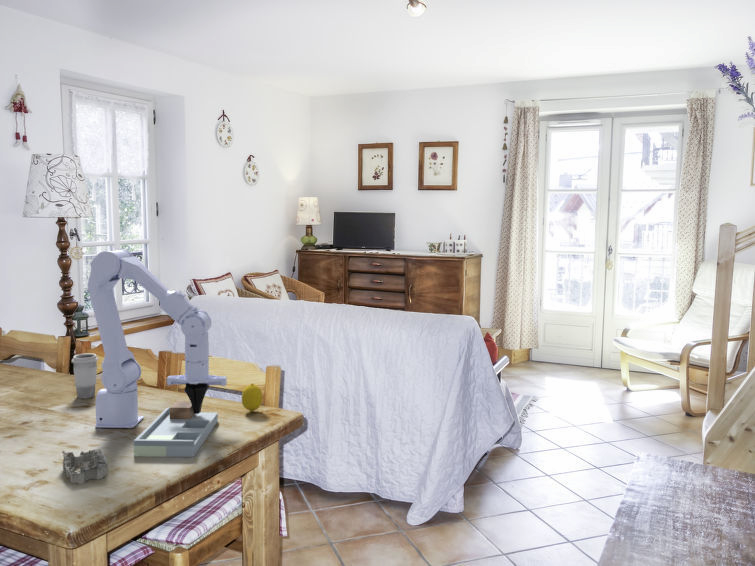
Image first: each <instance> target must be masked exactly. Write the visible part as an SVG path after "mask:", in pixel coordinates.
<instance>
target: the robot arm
mask: <svg viewBox="0 0 755 566" xmlns="http://www.w3.org/2000/svg"><path fill="white" fill-rule="evenodd" d="M90 269H91V270H90V272H89V273H90V274H89V277H88V281H87V290H88V295H89V297H90V301H91V306H92V310H93V314H94V317H95V322H96V324H97V331H98V332H99V337H100V341H101V343H102V348H103V352H104V357H103V359H102V363H101V369H102V374H101V384H102V386H103V387H104V388H100V389H99V390H98V391H97V394H96V395H95V396H96V398H95V425H94V428H105V429H106V428H110V429H111V428H112V429H114V428H115V429H116V428H117V429H124V428H125V429H133V428H135V426H137V425H138V424H139V422H141V421H142V420H143V419H144V417H145V416H144V415H139V404H138V401H139V399H138V396H139V395H138V393H139V392H138V383H137V381H138V380H139V379H140V377H141V375H142V368H141V365H140V364H139V363H138V361H137V359H136V358H135V355H134V353H133V352H132V351H131V350H130V349H128V346H127V342H126V341H127V340H126V337H125V332H124V329H123V327H122V321H121V317H120V313H119V310H118V305H117V302H116V297H115V293H114V290H113V289H114V288H115V286H116V285H117V284H118V283H119V281H120V280H121V279H124V280H133V281H135V282H136V283H137V284H138V285H140V286H141V287H142V288H144V289H145V290H146V291H147V292H148V293H150V294H151V295H152V296H153V297H155V298H156V299H157V300H158V301H159V308H160V309H161V310H162V311H163V312H164V313H165V314H166V315H168V316H169V317H170V318H171V319H172V320H173V321H175V323H177V324H178V325H179V326H180V329H181V332H182V334H183V335H184V374H180V375H177V374H176V375H169V376H167V377H166V385H167V386H172V385H185V386H184V392H185V393H186V395H187V397H188V399H189V402H191V404H192V407H193V412H194V414H199V413H200V412H202V407H203V401H204V398H205V397H206V393H207V391H208V389H209V387H210V386H221V387H225V386H227V384H228V380H227V379H228V377H227V376H223V375H222V376H221V375H214V374H213V375H212V374H210V373H209V371H210V370H209V369H210V367H209V366H210V365H209V364H210V363H209V362H210V361H209V360H210V357H209V356H210V353H209V351H210V350H209V344H210V342H209V330H210V328H211V327H212V319H211V317H210V316H209V314H208V313H207V312H206V311H205V310H200V308H199V307H198V306H194V305H193V304H192V303H191V302H190V301H189V300H187V298H185V297H186V294H184V293H183V292H181V291H180V292H178V291H177V290H169V289H168V288H167V287H166V286H165V285H164V284H163V283H162V282H161V281H160V280H159V279H158V278H157V277H156V276H155V275H154V274H153V273H152V272H151V271H150V270H149V269H148V268H147V267H146V266H145V265H144V264H143V262H142V261H141V259H140V258H139V257H137V256H135V255H133V253H132V252H130V251H129V250H127V249H124V248H119V249H116V250H103V251H101V252H98V253H97V255H95V257H94V258H93V259H92V261H91V262H90Z"/></svg>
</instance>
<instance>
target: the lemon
mask: <svg viewBox="0 0 755 566" xmlns="http://www.w3.org/2000/svg"><path fill="white" fill-rule="evenodd" d="M241 403H242V406H243V407H244V408H245V410H247V411H250V412H251V413H254V411H256V410H258V409H259V408H260V406H261V405H262V403H263V392H262V390H261V388H260V387H259V385H256V384H254V383H250V384H248V385H247V386H245V387H244V389H243V391H242V394H241Z"/></svg>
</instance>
